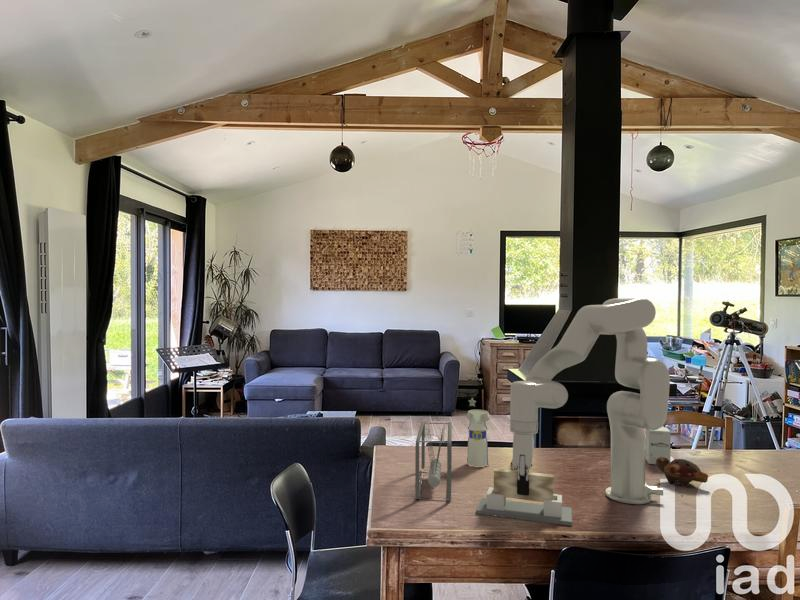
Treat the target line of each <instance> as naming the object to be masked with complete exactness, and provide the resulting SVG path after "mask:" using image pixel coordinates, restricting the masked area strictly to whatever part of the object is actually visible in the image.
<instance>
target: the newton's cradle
mask: <svg viewBox="0 0 800 600" xmlns="http://www.w3.org/2000/svg"><path fill="white" fill-rule="evenodd" d="M430 424H431V425H433V426H431V425H430ZM434 424H435V425H443V428H441V429H440V428H439V429H438V430H439V431H440V430H441V434H440V438H439V439H440V441H438V440H436V441H435V440H430V439H432V434H430V433H431V431H430V430H431V429H429V428H430V427H435V428H437V426H434ZM429 425H430V426H429ZM446 425H447V441H444V440H445V429H446ZM425 426H426V427H425ZM452 426H453V425H452V421H448V422H428V421H427V422H425V421H424V420H422V421H421V422H420V425H419V430H418V432H417V437H416V439H415V452H414V453H415V455H414V456H415V458H414V459H415V462H414V463H415V470H414V471H415V473H414V474H415V477H414V478H415V479H414V480H415V481H414V486H415V489H414V491H415V492H414V493H415V494H414V495H415V500H416V499H419V496H420V497H421V493H420V490H421V491H422V487H421V481H422V477H421V478H420V466H421V468H422V469H424V468H426V467H425V464H426V462H425V461H426V460H425V459H426V456H425V455H426V453H425V452H426V451H425V449H426V447H425V445H426V446H427V447H428V448H427V450H428V452H427V453H428V458H430V459H429V462H430V463H429V465H430V466H429V470H428V471H429V472H428V479H427V482H428V485H429V486H430V487H433V488H436V487H438V486H439V485H440V483H441V474H442V472H441V471H442V462H441V460H439V458H440V457H439V456H440V453H441V447H442V444H447V445H446V447H447V448H446V449H447V453H446V458H447V459H446V460H447V463H446V464H447V466H446V469H447V473H446V475H447V478H446V480H447V481H446V484H447V485H446V487H447V489H446V492H447V493H446V495H447V496H446V498H444V497H442V498H443V499H447V501H448V502H449V501H450V502H451V501H452V471H451V470H452V465H453V464H452V462H453V461H452V457H453V456H452V452H453V451H452V445H453V444H452V442H453V441H452V437H453V436H452V434H453V433H452V428H453V427H452ZM425 428H426V429H425ZM428 434H429V435H428ZM420 443H421V465H420ZM425 443H426V444H425ZM433 443H437V444H439V446H438V451H437V455H436V457H435V451H434V450H433V449H434V447H433V445H432V444H433ZM419 479H420V482H419ZM419 500H420V499H419Z"/></svg>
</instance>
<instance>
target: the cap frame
mask: <svg viewBox="0 0 800 600" xmlns="http://www.w3.org/2000/svg"><path fill="white" fill-rule="evenodd" d="M476 513H477V514H476V515H481V514H486V515H485V516H489V515H496V516H495V517H497V516H503V517H502V518H505V517H510V518H509V519H513V518H516V519H515V520H521V521H522V520H523V521H528V522H529V521H530V522H538V523H547V524H555V525H563V526H570V527H572V526H573V514H572V513H573V512H572V507H567V506H563V495H562V494H556V493H553V500H548V499H544V502H543V504H542V503H540V504H539V503H529V502H523V501H516V500H515V501H513V500H507V498H506V497H504V495H503V494H494V486H493V487H491V486H489V488H488V490H487V492H486V497H481V499H480V501H479V504H478V506H477V508H476Z"/></svg>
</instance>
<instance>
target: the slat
mask: <svg viewBox="0 0 800 600" xmlns="http://www.w3.org/2000/svg"><path fill="white" fill-rule="evenodd" d="M525 473H526V472H525ZM554 475H555V474H551V473H550V474H549V473H540V472H533V471H532V472H530V471H529V472H528V480H529V495H528V496H527V495H518V494H517V479H518V470H516V469H515V470H514V469H505V468H494V470H493V488H494V494H503V495H504V497H506V499H507V498H508V499H515V500H516V499H517V500H522V501H532V502H537V503H539V502H540V503H544V499H548V500H553V494H554V477H555V476H554Z"/></svg>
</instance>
